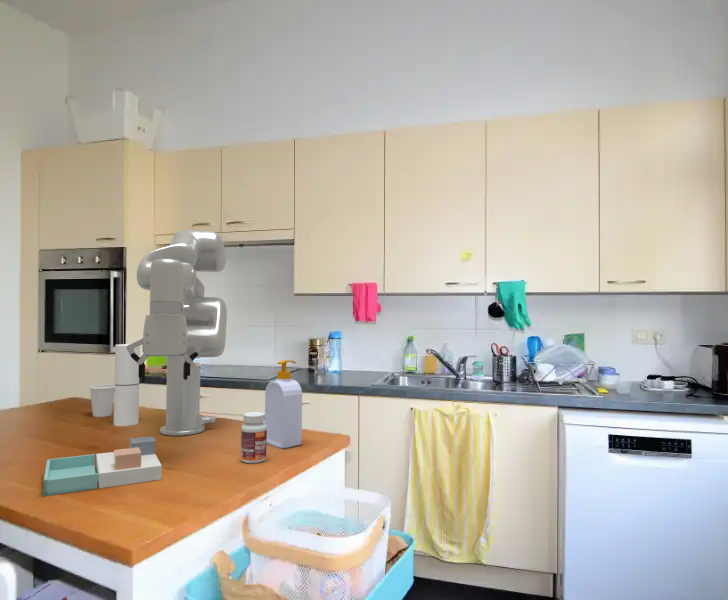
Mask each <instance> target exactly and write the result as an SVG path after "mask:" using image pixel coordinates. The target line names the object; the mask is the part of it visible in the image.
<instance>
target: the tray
mask: <svg viewBox="0 0 728 600" xmlns="http://www.w3.org/2000/svg"><path fill="white" fill-rule="evenodd" d="M44 471H45V472H44V475H43V476H44V477H43V494H42V495H43V496H42V497H47V496H53V495H54V496H55V495H62V494H69V493H75V492H76V493H77V492H82V491H89V490H90V491H91V490H96V489H98V473H97V470H96V454H95V453H92V454H84V455H76V456H75V455H74V456H67V457H56V458H49V459H48V458H47V459H46V466H45V470H44Z"/></svg>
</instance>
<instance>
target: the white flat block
mask: <svg viewBox="0 0 728 600" xmlns="http://www.w3.org/2000/svg"><path fill="white" fill-rule="evenodd" d="M162 468H163V466H162V464H161V462H160V459H158V456H157V454H156V453H155V454H150V455H142V456H141V467H137V468H129V469H121V470H115V467H114V451H111V452H102V453H96V454H95V471H96V473H98V483H97V486H98V489H104V488H111V487H119V486H125V485H130V484H131V485H132V484H139V483H140V482H141V483H146V482H147V481H148V482H152V481H153V480H155V481H161V480H162V474H163V473H162Z"/></svg>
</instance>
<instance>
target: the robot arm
mask: <svg viewBox="0 0 728 600" xmlns="http://www.w3.org/2000/svg"><path fill="white" fill-rule="evenodd" d="M226 257H227V255H226V252H225V246H224V242H223V239H222V237H221V235H220V234H219V233H218V232H217V231H214V230H201V229H200V230H197V229H195V230H194V229H183V230H180V231H178V232H177V233H176V234H175V235H174V237H173V238H172V240H171V241H170V244H169V245H166V246H163V247H160V248H158V249H154V250H152V251H149V252H147V253H146V254H144V256H143V257H142V259H141V260H140V263H139V264H138V266H137V271H136V281H137V283H138V285H139V287H140V288H141V289H143V290H146V291H149V315H145V319H144V324H143V333H142V334H143V335H142V338H140V339H139V340H136V341H134V342H132V343H129V344H130V345H128V346H127V347H126V349H127V350H128V352H129V354H130V356H131V358H132V359H134V360H135V361H136V362H137V363H138V364H139V373H138V378H139V379H140V380H141V382H145V381H146V363H145V362H146V360H147V359H148V358H149V357H166V358H165V359H166V393H165V394H166V402H165V403H166V404H165V406H166V408H165V425H163V426H161V427H160V428H159V429H160V430H159V431H160V432H159V433H160V434H162V435H166V436H173V437H174V436H175V437H176V436H188V435H189V436H190V435H195V434H199V433H201V432H204V431H205V425H206V424H213V423H214V424H215V423H216V422H217V421H216V420H217V419H216V416H214V415H212V416H209V415H205V416H203V415H202V414H200V413H201V412H200V407H201V406H200V404H201V402H200V401H201V371H200V368H199V367H198V365H197V364H196V363H195V361H194V360H195V359H197V358H217V357H220V356H222V354H223V353H224V351H225V347H226V338H227V337H226V334H227V322H228V321H227V319H228V318H227V317H228V316H227V315H228V313H227V312H228V311H227V309H228V308H227V305H226V301H224V300H223V299H222V298H221V297H215V296H212V297H211V296H205V289H206V288H205V285H204V283H202V281H201V280H200V279H199V278H198V277H197V272H208V273H209V272H210V273H211V272H213V273H217V272H221V271H223V270H224V269H225V267H226V264H227V258H226ZM138 346H140V347H141V346H142V353H143V354H142V355H140V357H139V356H138V355H137V354H136V353H135V351H134V348H136V347H138Z"/></svg>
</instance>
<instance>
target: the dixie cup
mask: <svg viewBox="0 0 728 600" xmlns="http://www.w3.org/2000/svg"><path fill="white" fill-rule="evenodd" d="M114 387H115V383H114V384H112V383H103V384H94V385H93V384H92V385H90V386H89V387H88V388H89V392H90V402H91V403H90V404H91V409H92V410H91V411H92V417H95V418H105V417H111V416H112V415H113V409H114Z"/></svg>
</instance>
